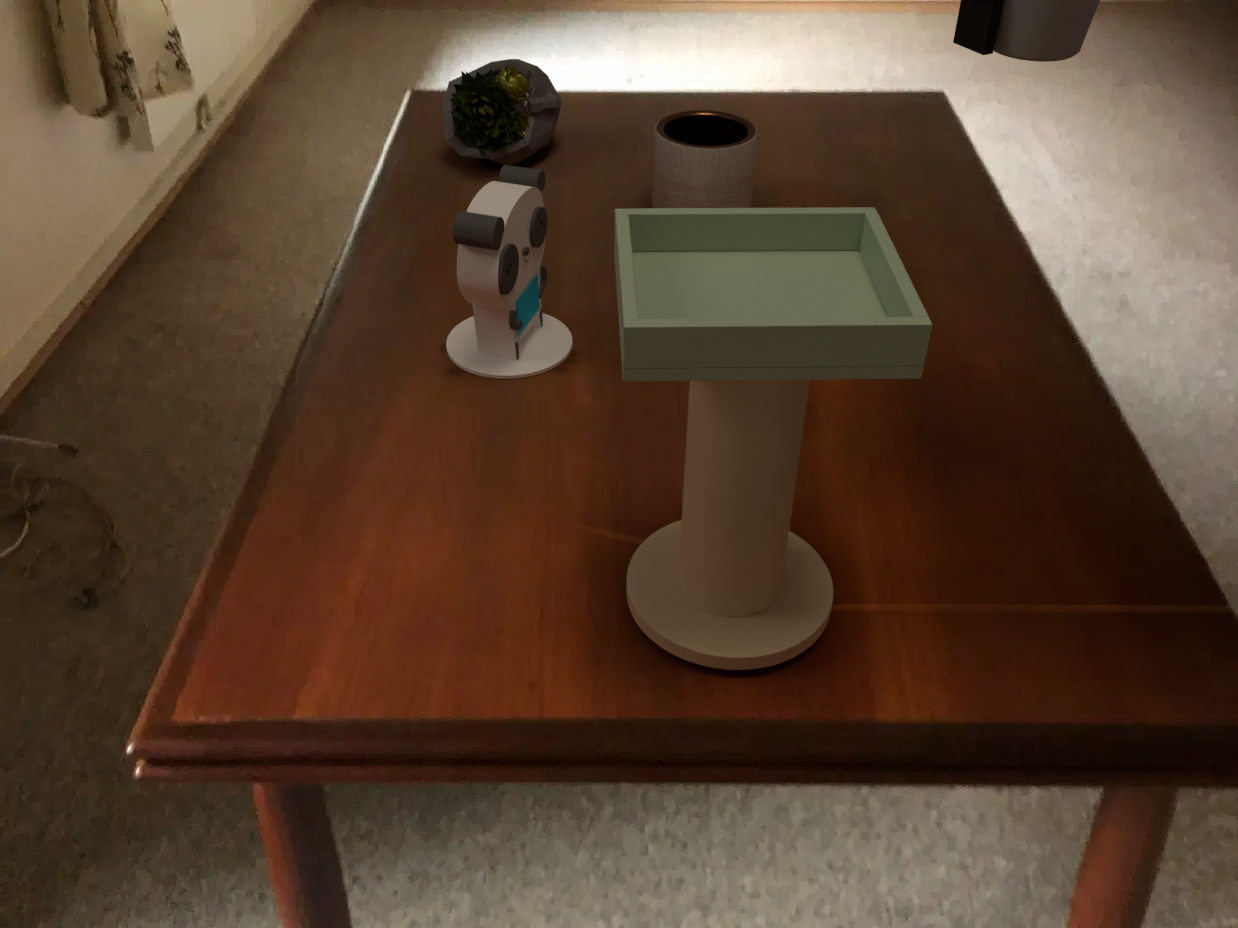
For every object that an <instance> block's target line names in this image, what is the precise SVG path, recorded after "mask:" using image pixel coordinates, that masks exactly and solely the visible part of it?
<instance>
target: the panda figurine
mask: <svg viewBox="0 0 1238 928" xmlns="http://www.w3.org/2000/svg"><path fill="white" fill-rule="evenodd" d="M545 187H546V173H545V171H544V170H543V169H536V168H530V167H523V166H515V165H513V166H510V165H504V166H502V167H501V169H500V171H499V181H497V180H492V181H489V182H488V183H486V184H485V185H483V187H482V188H480V189H479V190H478V192H477V193H476V194H475V196H474V197H473V198H472V200H471V201H470V203H469V205H468V207H467V209H466V210H465V211H464V210H459V211H458V212H457V213H456V216H455V219H454V222H453V228H452V229H453V233H452V236H453V241H454V243H455V244H456V245H457V254H456V281H457V286H458V287H457V288H458V289H459V292H460V295H462V298H463V299H464V300H465V301H467V303H470V304H471V305H472V312H473V315H472V316H470V317H468V318H466V319H463V320H462V321H461V322H459V323H458V324H456V325H455V326H454V327H453V328H452V329H451V331H449V334H448V335H447V338H446V341H445V347H446V353H447V356H448V357H449V359H450V360H451V361H452V363H453V364H454V365H456V366H457V367H458V368H460V369H461V370H464V371H465V372H468V373H470V374H472V375H475V376H479V377H484V378H489V379H496V380H497V379H498V380H514V379H515V380H516V379H523V378H530V377H534V376H537V375H540V374H544V373H546V372H548V371H551V370H553V369H554V368H556V367H558V366H559V365H561V364H562V363H563V362H564V361H566V359H567V358H568V357H569V355H570V354H571V352H572V349H573V335H572V333H571V331H570V328H569V327H567V325H565V324H564V323H563V322H562V321H561V320H559V319H558V318H556V317H554V316H552V315H549V314H546V313H544V312H543V307H542V297H543V295H544V292H545V289H546V285H547V279H548V271H547V268H546V266H545V265H542V263H543V257H544V252H545V246H546V237H547V233H548V214H547V210H546V208H545V203H544V199H543V195H542V192H543V191H544V189H545Z"/></svg>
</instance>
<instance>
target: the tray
mask: <svg viewBox="0 0 1238 928" xmlns="http://www.w3.org/2000/svg"><path fill="white" fill-rule="evenodd" d="M613 248H614V250H613V251H614V253H613V254H614V257H613V259H614V271H615V272H614V273H615V274H614V275H615V288H616V300H617V315H618V331H619V332H618V333H619V345H620V361H621V373H622V382H689V386H688V387H689V388H688V402H687V403H688V404H687V405H688V406H687V419H686V421H687V422H686V439H685V441H686V442H685V453H684V454H685V455H684V456H685V457H684V470H683V472H684V473H683V474H684V475H683V488H682V504H681V519H679V520H676V521H673V522H671V523H669V524H667V525H665V526H663V527H661V528H659V529H658V530H656V531H655V532H653V533H651V534H650V535H649V536H648V537H647V538H646V539H644V540H643V541H642V543H640V545H639V546H638V547H637V549H636V550H635V552H634V553H633V554H632V557H631V559H630V561H629V564H628V568H627V571H626V588H625V591H626V592H625V593H626V595H625V596H626V600H627V601H626V602H627V606H628V609H629V611H630V614H631V616H632V618H633V619H634V621H635V623H636V624H637V626H638V627H639V628H640V631H642V632H643V633H644V634H645V635H646V637H648V638H649V639H650V640H651V641H652V642H653V643H654V644H656V646H658V647H660V648H661V649H663V650H664V651H666V652H668V653H669V654H671V655H673V656H675V657H677V658H679V659H682V660H683V661H685V662H690V663H692V664H695V665H699V666H703V667H707V668H712V669H717V670H718V669H719V670H727V671H729V670H730V671H745V670H757V669H763V668H769V667H772V666H775V665H779V664H782V663H784V662H787V661H789V660H792V659H794V658H795V657H797V656H799V655H800V654H802V653H804V652H805V651H807V650H808V649H809V648H810V647H812V646H813V645H814V644H815V643H816V641H818V639H819V638H820V637H821V636H822V635H823V633H824V631H825V630H826V628H827V625H828V623H829V621H830V618H831V613H832V607H833V602H834V583H833V578H832V576H831V573H830V571H829V570H830V569H829V568H828V567H827V564H826V563H825V561H824V560H823V558H822V557H821V555H820V554H819V553H818V552H817V551H816V550H815V548H813V547H812V545H810V544H809V543H808V542H807V541H806V540H804V539H803V538H802V537H800V536H799V535H797V534H796V533H793V531H792V530H791V531H790V527H791V519H792V512H793V505H794V498H795V491H796V483H797V476H798V468H799V463H800V456H801V455H800V454H801V447H802V440H803V433H804V426H805V418H806V411H807V403H808V397H809V388H810V382H811V380H812V381H813V380H815V381H816V380H896V379H899V380H901V379H902V380H904V379H905V380H907V379H909V380H911V379H922V376H923V371H924V365H925V362H926V357H927V352H928V347H929V343H930V338H931V333H932V328H933V323H932V320H931V318H930V317H929V315H928V312H927V310H926V308H925V306H924V304H923V302H922V301H921V298H920V296H919V294H918V292H917V290H916V287H915V286H914V284H913V282H912V279H911V278H910V275H909V274H908V271H907V269H906V267H905V265H904V263H903V260H901V257H900V255H899V253H898V251H897V248H896V247H895V245H894V243H893V241H892V239H891V237H890V235H889V232H888V231H887V229H886V227H885V224H884V222H883V221H882V218H881V216H880V214H879V213H878V211H877V209H876V207H875V206H873V207H872V206H871V207H870V206H867V207H865V206H863V207H862V206H861V207H860V206H859V207H858V206H854V207H853V206H850V207H848V206H847V207H844V206H843V207H837V206H836V207H835V206H834V207H751V208H652V207H651V208H650V207H649V208H646V207H645V208H644V207H643V208H642V207H640V208H639V207H635V208H632V207H631V208H630V207H629V208H626V207H625V208H615V209H614V247H613Z"/></svg>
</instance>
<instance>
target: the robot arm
mask: <svg viewBox="0 0 1238 928" xmlns="http://www.w3.org/2000/svg"><path fill="white" fill-rule="evenodd" d="M1003 3H1004V0H960V3H959V8H958V15H957V19H956V24H955V29H954V35H953V40H952V43H953V44H955V45H957V46H960V47H962V48H964V49H967V50H970V51H972V52H974V53H976V54H980V55H982V56H986V55H992V54H994V46H995V41H996V36H997V31H998V27H999V22H1000V17H1001V12H1002V7H1003Z"/></svg>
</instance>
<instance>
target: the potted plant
mask: <svg viewBox="0 0 1238 928" xmlns="http://www.w3.org/2000/svg"><path fill="white" fill-rule="evenodd" d="M460 73H461V75H460V76H459V77H456V78H454V79H452V80H450V81H448V83H447V88H446V90H445V94H444V97H443V100H442V104H441V112H442V120H443V130H444V140H445V142H446V143H447V145H449V146H450V147H451V148H453V150H454V151H456V153H457V154H458V155H460V156H461V157H468V158H476V159H486V160H490V161H492V162H494V163H495V164H498V165H500V166H502V167H503V166H504V165H510V166H515V165H517V164H519V163H521V162H522V161H524V160H526V159H528V158H529V157H531V156H532V155H534V154H535V153H537V152H538V151H540V150H542V149H543V148H545V146H547V145H548V144H549V143H550V140H551V139H552V138H553V136H554V134H555V131H556V127H557V123H558V120H559V116H560V112H561V108H562V97H561V96H560V95H559V93H558V91H557V90H556V87H555V86H554V84H553V82H552V81H551V79H550V77H549V75H548V74H547V73H546V72H544V70H542V68H540V67H539V66H538V65H536V64H533V63H530V62H527V61H525V60H522V59H519V58H509V59H508V58H507V59H501V60H495V61H490V62H488V63H486V64H484V65H481V66H480V67H477V68H476V69H473V70H470V71H469V72H467V71H465V72H464V71H460Z"/></svg>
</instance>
